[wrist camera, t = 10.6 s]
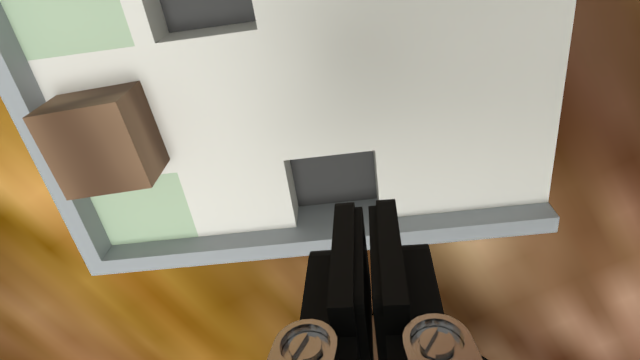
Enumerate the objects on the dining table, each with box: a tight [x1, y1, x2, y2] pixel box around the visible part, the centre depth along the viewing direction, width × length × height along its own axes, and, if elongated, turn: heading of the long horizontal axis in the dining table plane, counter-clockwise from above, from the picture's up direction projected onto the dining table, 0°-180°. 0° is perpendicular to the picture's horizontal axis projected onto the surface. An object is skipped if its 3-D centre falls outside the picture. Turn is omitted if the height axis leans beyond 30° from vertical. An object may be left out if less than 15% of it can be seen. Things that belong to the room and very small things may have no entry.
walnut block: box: [22, 81, 170, 201], centre depth 23 cm, size 4×4×3 cm
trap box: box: [0, 0, 576, 276], centre depth 23 cm, size 27×18×4 cm, turn 98°
